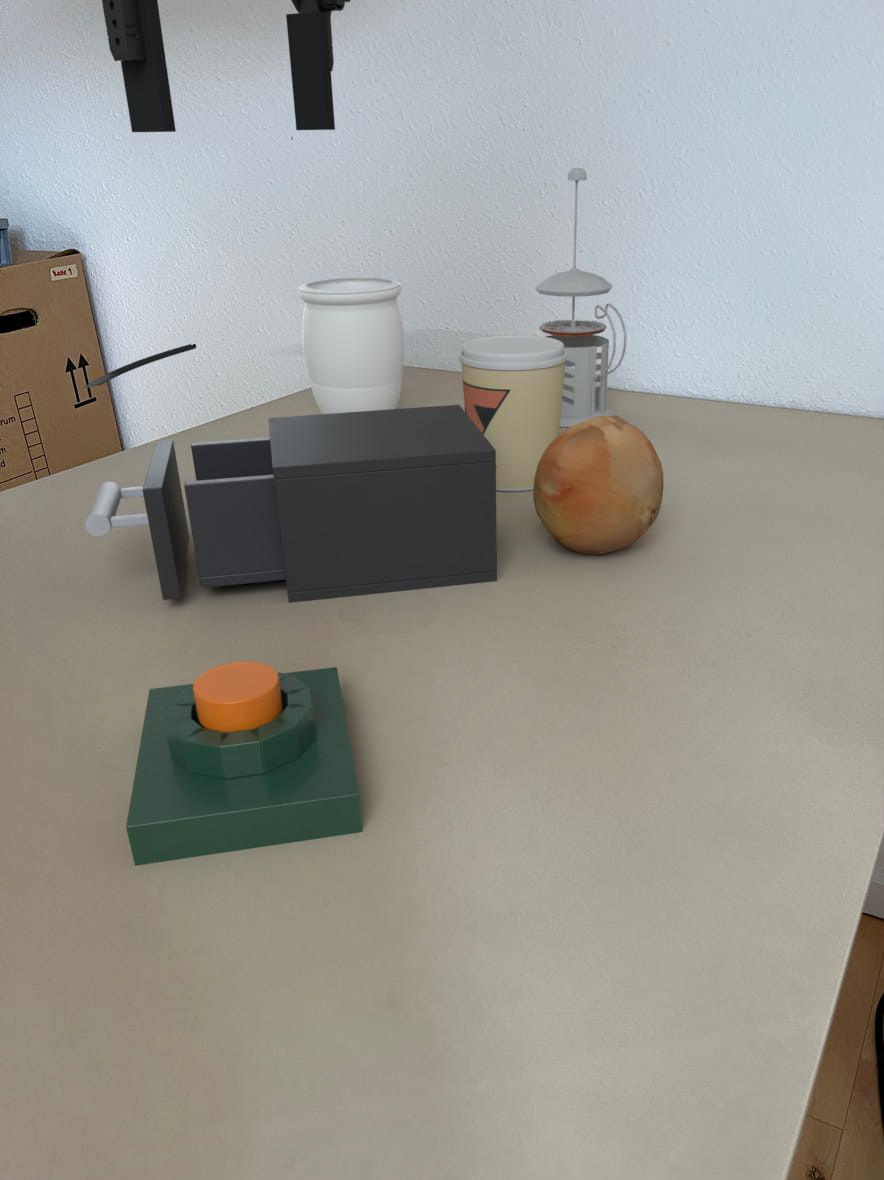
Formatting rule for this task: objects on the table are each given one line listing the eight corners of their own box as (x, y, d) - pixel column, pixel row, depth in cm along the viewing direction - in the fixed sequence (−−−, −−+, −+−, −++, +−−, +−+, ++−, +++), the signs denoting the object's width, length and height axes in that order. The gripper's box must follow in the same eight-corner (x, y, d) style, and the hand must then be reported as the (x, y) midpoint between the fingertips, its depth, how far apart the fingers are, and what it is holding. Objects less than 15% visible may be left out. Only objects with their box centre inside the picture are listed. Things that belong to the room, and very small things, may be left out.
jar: (366, 450, 98) (355, 294, 91) (290, 435, 103) (274, 287, 96) (428, 425, 106) (422, 280, 99) (354, 413, 111) (344, 274, 104)
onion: (558, 518, 80) (561, 396, 75) (676, 536, 76) (687, 408, 71) (509, 560, 72) (509, 427, 68) (638, 582, 68) (647, 443, 64)
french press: (568, 400, 115) (574, 165, 103) (645, 418, 107) (661, 166, 96) (508, 416, 109) (507, 168, 97) (586, 436, 101) (595, 170, 90)
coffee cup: (447, 470, 92) (443, 340, 86) (536, 457, 95) (537, 330, 89) (487, 500, 84) (485, 359, 78) (582, 485, 87) (586, 348, 82)
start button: (200, 696, 48) (194, 665, 48) (281, 686, 49) (277, 656, 48) (196, 739, 45) (190, 707, 44) (284, 728, 46) (279, 696, 45)
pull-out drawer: (95, 607, 64) (70, 495, 61) (115, 544, 74) (94, 444, 70) (364, 580, 67) (355, 471, 64) (349, 523, 77) (340, 426, 74)
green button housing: (156, 723, 53) (143, 659, 51) (340, 700, 55) (333, 637, 53) (134, 866, 43) (117, 792, 41) (362, 833, 44) (355, 760, 43)
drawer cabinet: (288, 603, 66) (272, 467, 62) (282, 537, 77) (268, 417, 73) (497, 581, 69) (495, 449, 64) (462, 520, 80) (459, 404, 75)
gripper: (14, -478, 38) (115, 132, 48) (395, -283, 57) (412, 128, 67) (-93, -424, 42) (21, 133, 52) (298, -257, 60) (327, 129, 70)
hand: (241, 131), depth 59 cm, fingers open, 13 cm apart
